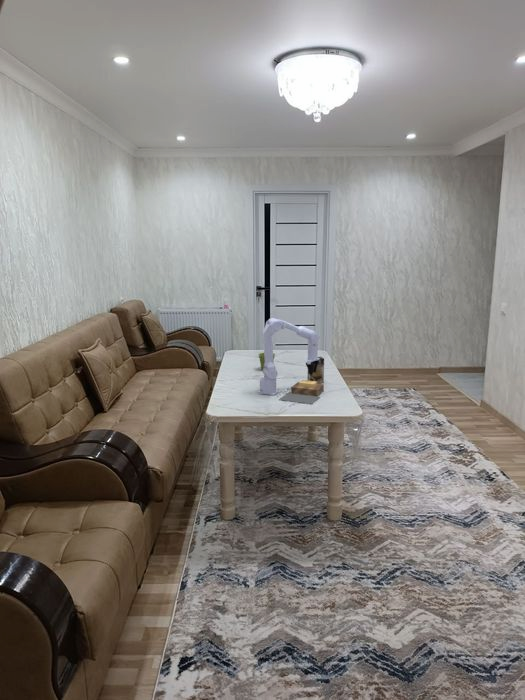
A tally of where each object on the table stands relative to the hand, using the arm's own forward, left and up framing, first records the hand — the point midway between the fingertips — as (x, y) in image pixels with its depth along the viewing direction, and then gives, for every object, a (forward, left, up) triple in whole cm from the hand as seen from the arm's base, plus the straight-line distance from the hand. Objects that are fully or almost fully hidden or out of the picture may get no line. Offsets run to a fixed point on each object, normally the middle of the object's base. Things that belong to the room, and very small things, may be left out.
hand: (312, 373), depth 307 cm
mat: (0, -22, -9) cm, 24 cm away
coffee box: (-2, +12, -10) cm, 15 cm away
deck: (0, -9, -9) cm, 13 cm away
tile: (0, -8, -5) cm, 10 cm away
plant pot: (-43, +29, -10) cm, 53 cm away
